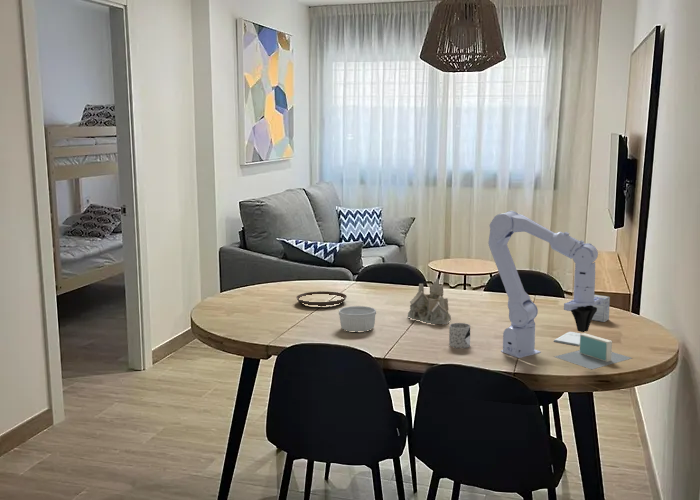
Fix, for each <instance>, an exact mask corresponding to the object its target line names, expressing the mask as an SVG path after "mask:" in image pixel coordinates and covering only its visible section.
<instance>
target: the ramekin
mask: <svg viewBox="0 0 700 500" xmlns="http://www.w3.org/2000/svg"><path fill="white" fill-rule="evenodd" d="M338 315H339V322H340V328H341V329H342V330H343V329H344V330H347V331H355V332H358V331H367V330H370V329H372V328H373V329H374V328H375V324H376V323H375V322H376V315H377V309H375V308H374V307H371V306H363V305H362V306H361V305H352V306H344V307H341V308H339V310H338ZM373 329H372V330H373ZM344 330H343V331H344Z"/></svg>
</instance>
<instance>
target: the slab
mask: <svg viewBox="0 0 700 500" xmlns="http://www.w3.org/2000/svg"><path fill="white" fill-rule="evenodd" d="M579 350H580V353H581V354H584V355H587V356H590V357H593V358H597V359H600V360H603V361H606V362H608V361H611V356H612V352H613V341H612V340H611V339H607V338H603V337H599V336H596V335H593V334H588V333H586V332H582V333H581V334H580V345H579Z"/></svg>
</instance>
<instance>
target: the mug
mask: <svg viewBox="0 0 700 500" xmlns="http://www.w3.org/2000/svg"><path fill="white" fill-rule="evenodd" d="M448 327H449V328H448V329H449V338H448V339H449V340H448V341H449V343H448V345H450V346H451V347H450V346H449V347H450V348H452V347H454V348H453V349H458V348H463V349H468V348H470V347H471V325H470V324H469V323H465V322H454V323H451V324H449V326H448Z"/></svg>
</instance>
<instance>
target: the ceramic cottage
mask: <svg viewBox="0 0 700 500" xmlns="http://www.w3.org/2000/svg"><path fill="white" fill-rule="evenodd" d="M439 281H440V280H439V278H435V281H433V284H430V285H429V294H425V290H424V289H425V288H424V283H419V284H418V291H417V292H416V294H415V296H413V298H412V299H411V300H410V301H409V303H410V305H409V311H408V313H407V318H408V317H410V318H412V319H416V320H420V321H423V322H426V323H431V324H446V325H448V324H449V323H450V322H451V321H452V317H451V315H452V314H450V313H449V299H448V298H447V297H445V298H444V285H442V284H441V285H440V282H439ZM450 320H451V321H450ZM449 321H450V322H449ZM447 323H448V324H447Z"/></svg>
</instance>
